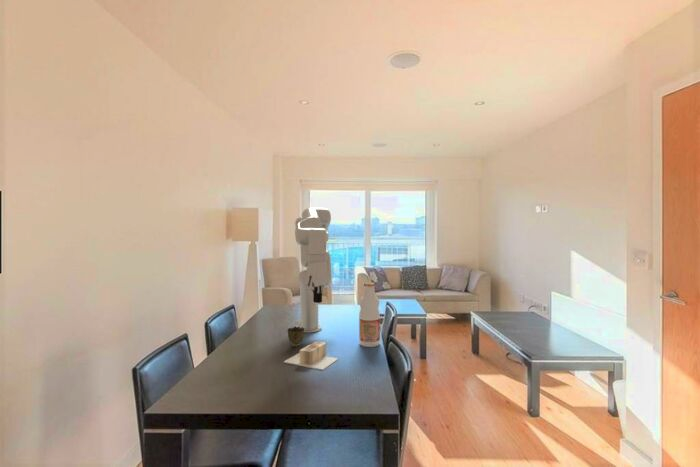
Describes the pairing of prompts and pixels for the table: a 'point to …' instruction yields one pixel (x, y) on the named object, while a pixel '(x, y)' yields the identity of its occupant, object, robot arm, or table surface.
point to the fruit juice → (369, 317)
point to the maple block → (312, 352)
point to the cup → (295, 335)
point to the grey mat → (319, 364)
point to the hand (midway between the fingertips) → (317, 302)
